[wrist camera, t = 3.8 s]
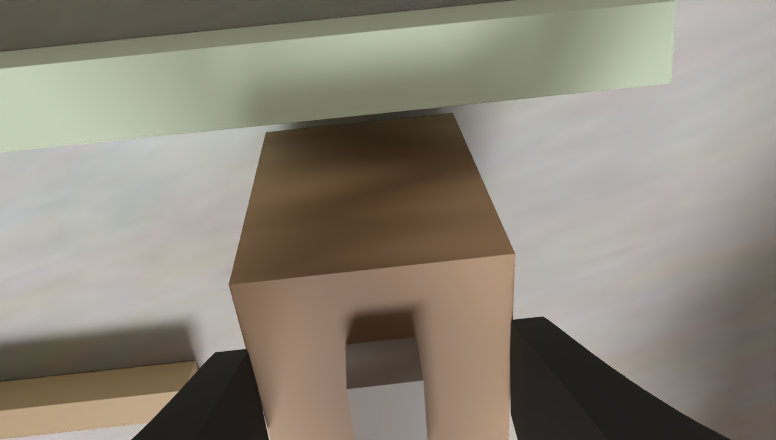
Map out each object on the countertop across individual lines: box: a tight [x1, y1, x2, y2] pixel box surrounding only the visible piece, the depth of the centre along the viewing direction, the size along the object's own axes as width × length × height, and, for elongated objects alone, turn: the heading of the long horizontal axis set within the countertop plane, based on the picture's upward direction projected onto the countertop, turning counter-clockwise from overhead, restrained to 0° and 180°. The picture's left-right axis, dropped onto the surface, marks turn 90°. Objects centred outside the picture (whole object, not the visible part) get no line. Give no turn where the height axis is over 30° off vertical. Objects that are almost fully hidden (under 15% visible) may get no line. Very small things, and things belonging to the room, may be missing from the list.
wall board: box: [0, 0, 677, 439], centre depth 15 cm, size 20×11×5 cm, turn 95°
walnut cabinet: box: [229, 113, 515, 440], centre depth 13 cm, size 4×6×7 cm
